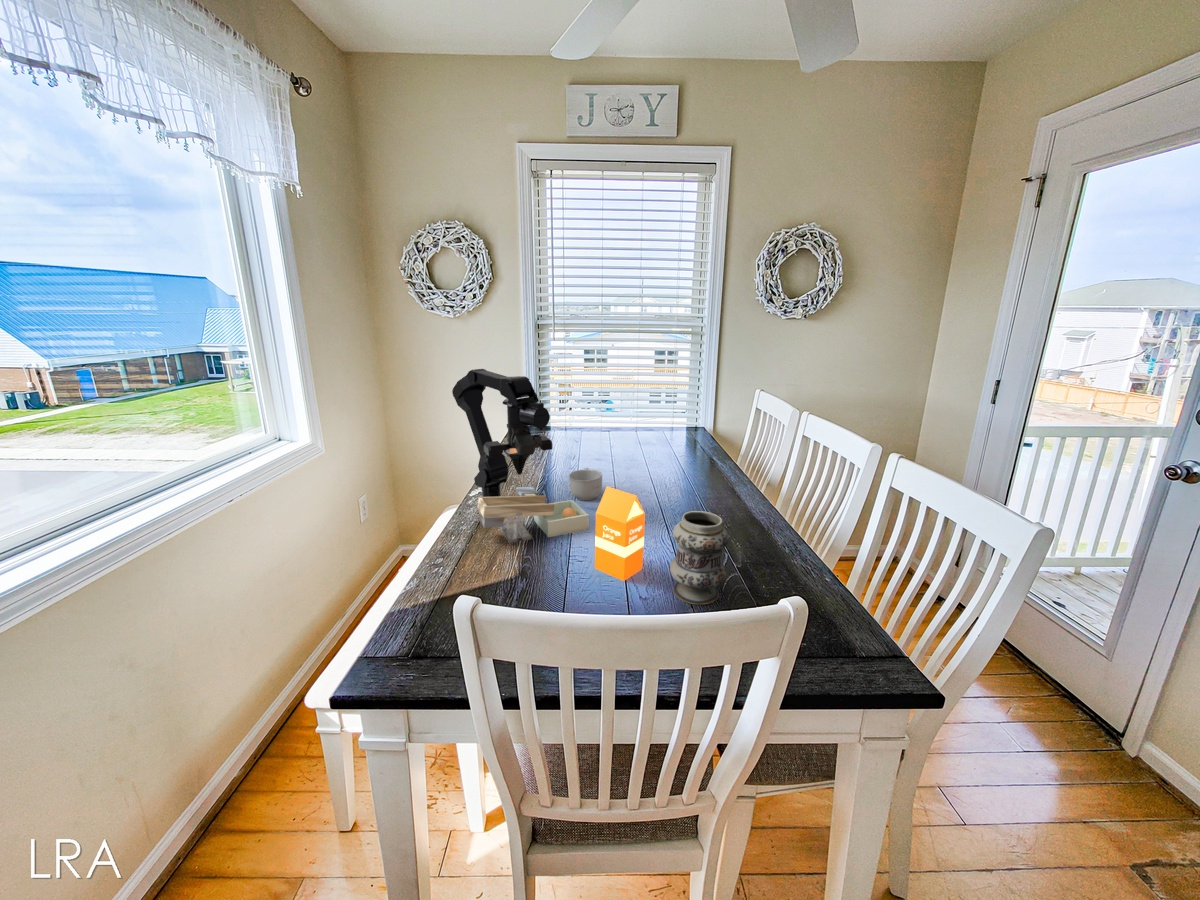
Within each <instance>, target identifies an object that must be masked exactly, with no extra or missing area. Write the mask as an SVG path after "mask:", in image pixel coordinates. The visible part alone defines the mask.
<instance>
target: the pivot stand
mask: <svg viewBox="0 0 1200 900" xmlns="http://www.w3.org/2000/svg"><path fill="white" fill-rule="evenodd" d="M523 519H524V516H523V514H522V513H519V514H516V517H515V521H514V517H506V522H505V523H504V522H503V527H498V528H499V529H500V531H501V533H502V534H503V535H504V537H505V539H506V540H507V543H509V544H512V543H517V542H523V541H528V540H532V535H531V534H530V532H529V531H528V529H527V528H526V527H525V526H524V521H523Z"/></svg>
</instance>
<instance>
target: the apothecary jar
mask: <svg viewBox="0 0 1200 900" xmlns="http://www.w3.org/2000/svg"><path fill="white" fill-rule="evenodd" d="M672 536H673V539H674V540H675V542H676V543H677V550H676V556H675V557H674V558H673V559H672V560H671V562H670V564H669V572H670V574H671V576H672V577H673V579H674V580H675V581H677V583H676V584H675V586H674V587H673V593H674V594H675V596H676V597H677V599H679V600H680V601H681V602H684V603H687V604H691V605H695V606H697V605H698V606H705V605H710V604H712V603H715V602H716V601H717V600H718V598H719V596H720V593H719V590H718V588H717V587H718V586H719V585H721V584H722V583H723V582H724V581H725V579H726V575H727V569H726V567H725V565H724V563H723V561H722V553H723V549H724V548H725V547H726V546H727V545H728V543H729V541H730V535H729V532H728V530H727V529H726V528H725V527H724V525H723V519H722V518H721V517H720V515H717V514H715V513H712V512H709V511H704V510H703V511H702V510H691V511H687V512H684V513H683V515H682V517H681V520H680V522H678V523H677V524H676V525H675V526H674V528H673V531H672Z"/></svg>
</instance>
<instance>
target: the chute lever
mask: <svg viewBox="0 0 1200 900" xmlns="http://www.w3.org/2000/svg"><path fill="white" fill-rule="evenodd" d="M515 491H516V493H517V494H518V495H510V496H509V495H507V496H502V495H501V496H498V497H482V496H478V497H477V509H478V511H479V513H478V515H479V516H478V519H479V521H480V524H481V525H482V526H483V528H484V529H485V528H487V529H488V528H499V527H503V524H504V521H505V520H504V519H505V518H507V517H513V518H516V514H519V513H522V514H523V517H534V516H542V515H553V511H554V504H549V503H547V502H546V500H547V496H546V495H545V494H544V495H539V492H537V490H535V488H534V487H532V486H529V487H528V486H527V487H525V486H524V487H515Z"/></svg>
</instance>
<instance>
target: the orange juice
mask: <svg viewBox="0 0 1200 900" xmlns="http://www.w3.org/2000/svg"><path fill="white" fill-rule="evenodd" d="M645 523H646V513H645V511H644V509H643V507H642V504H641V503H640V501H639V499H638V497H637V495H635V494H632V493H631V492H626V491H622V490H620V489H617V488H614V487H610V486H606V487H605V490H604V492H603V494H602V497H601V499H600V502H599V505H598V506H597V509H596V512H595V539H594V542H595V543H594V548H595V549H594V553H595V554H594V569H595V570H598V571H600V572H602V573H604V574H606V575H609V576H611V577H613V578H616V579H618V580H620V581H623V582H625V581H626V580H628V579H629V578H630V577H633V576H634V575H635V574H637V573H638V572H640V571H641V570H643V562H644V560H643V559H644V546H645V526H646V525H645Z"/></svg>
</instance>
